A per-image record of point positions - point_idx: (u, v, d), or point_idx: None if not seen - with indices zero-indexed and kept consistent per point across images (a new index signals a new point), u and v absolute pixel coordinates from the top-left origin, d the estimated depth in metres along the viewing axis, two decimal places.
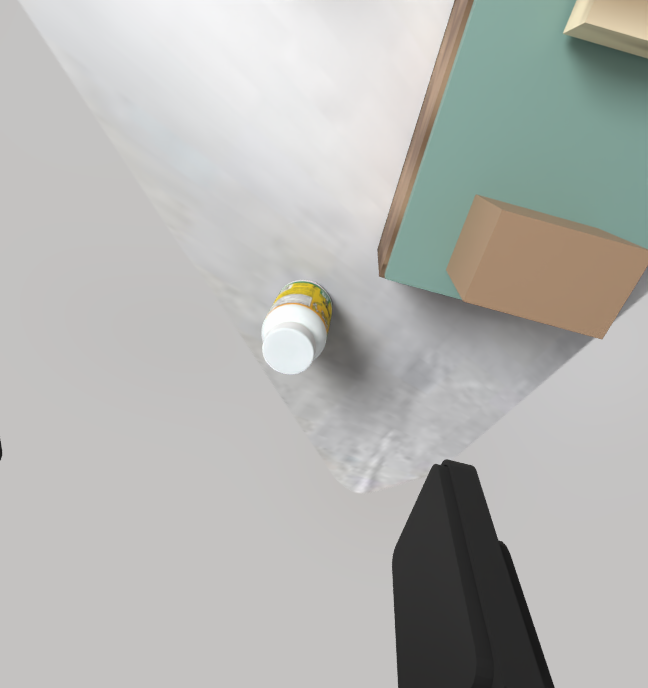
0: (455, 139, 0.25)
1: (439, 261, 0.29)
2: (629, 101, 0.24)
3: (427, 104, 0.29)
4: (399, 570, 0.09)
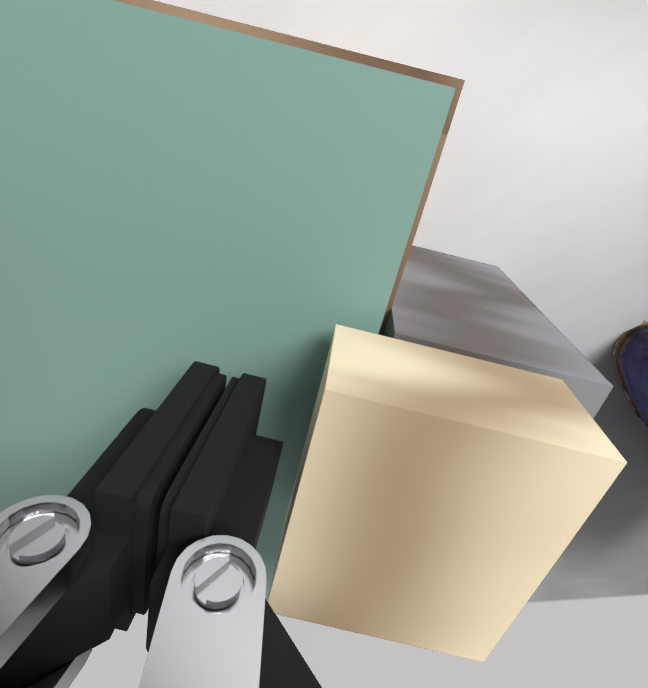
0: (10, 64, 0.08)
1: None
2: None
3: None
4: None
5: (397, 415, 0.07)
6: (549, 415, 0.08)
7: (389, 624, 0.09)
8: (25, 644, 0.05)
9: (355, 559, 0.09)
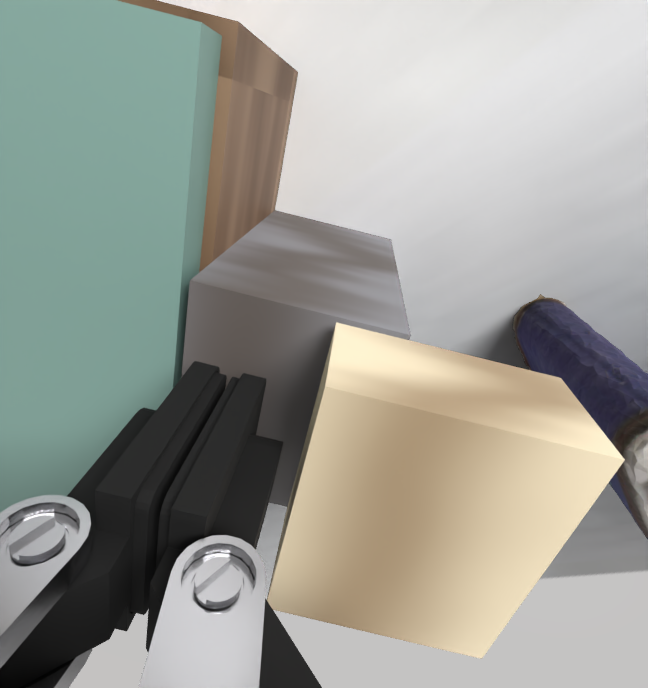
0: None
1: None
2: (24, 410, 0.12)
3: None
4: None
5: (398, 412, 0.07)
6: (548, 413, 0.08)
7: (388, 621, 0.09)
8: (25, 644, 0.05)
9: (354, 556, 0.09)
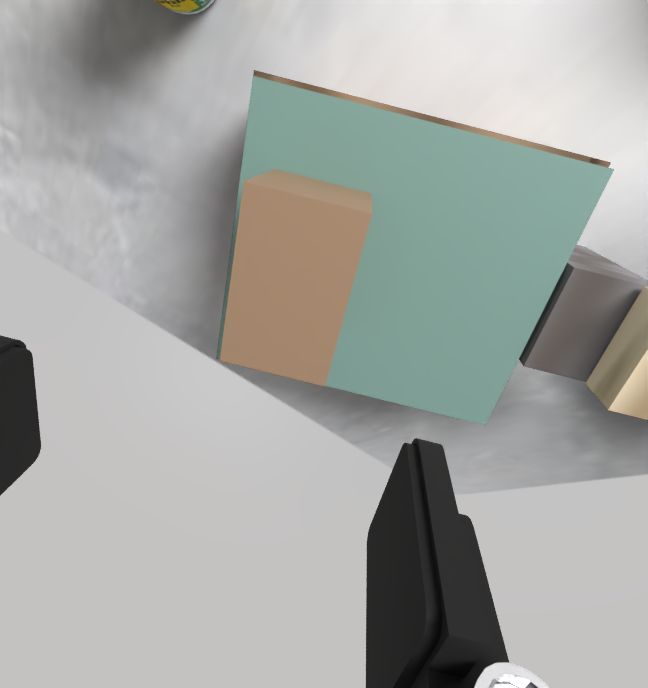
0: (436, 157, 0.21)
1: (285, 158, 0.21)
2: (455, 331, 0.25)
3: None
4: (372, 546, 0.09)
5: None
6: None
7: None
8: None
9: None
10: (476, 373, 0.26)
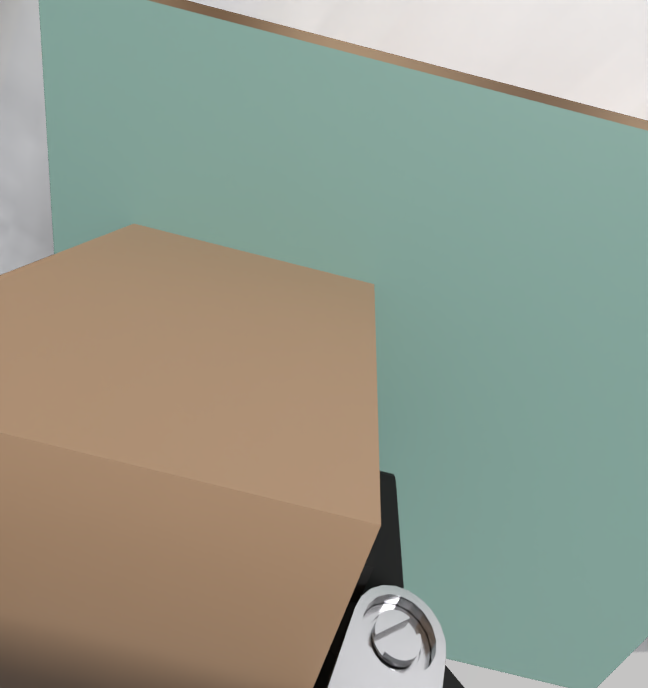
0: (547, 199, 0.08)
1: (155, 199, 0.08)
2: (550, 554, 0.12)
3: None
4: None
5: None
6: None
7: None
8: None
9: None
10: (585, 620, 0.13)
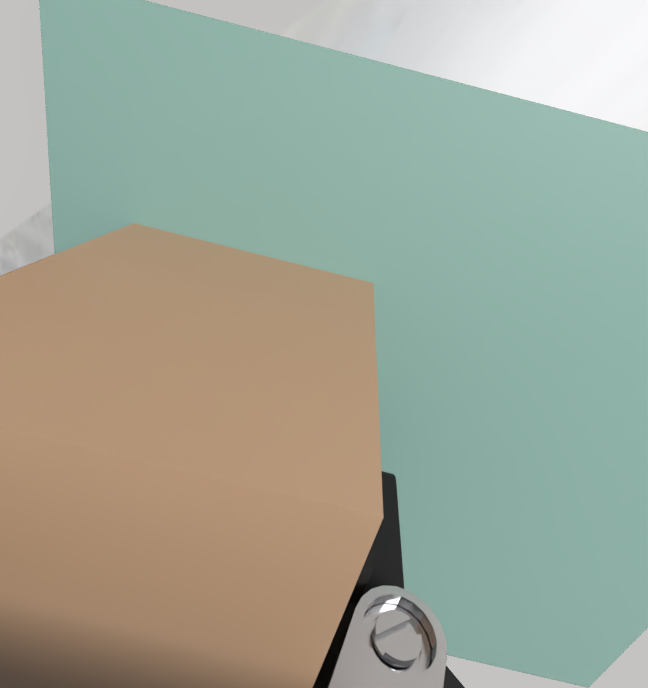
0: (544, 198, 0.08)
1: (156, 198, 0.08)
2: (548, 550, 0.12)
3: None
4: None
5: None
6: None
7: None
8: None
9: None
10: (582, 615, 0.13)
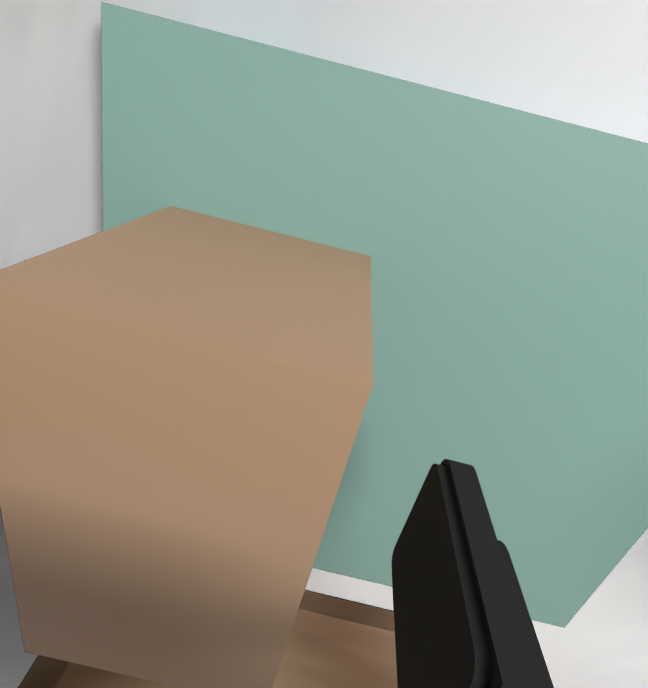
0: (511, 183, 0.10)
1: (190, 185, 0.10)
2: (524, 495, 0.13)
3: None
4: (398, 569, 0.09)
5: None
6: None
7: None
8: None
9: None
10: (556, 557, 0.14)
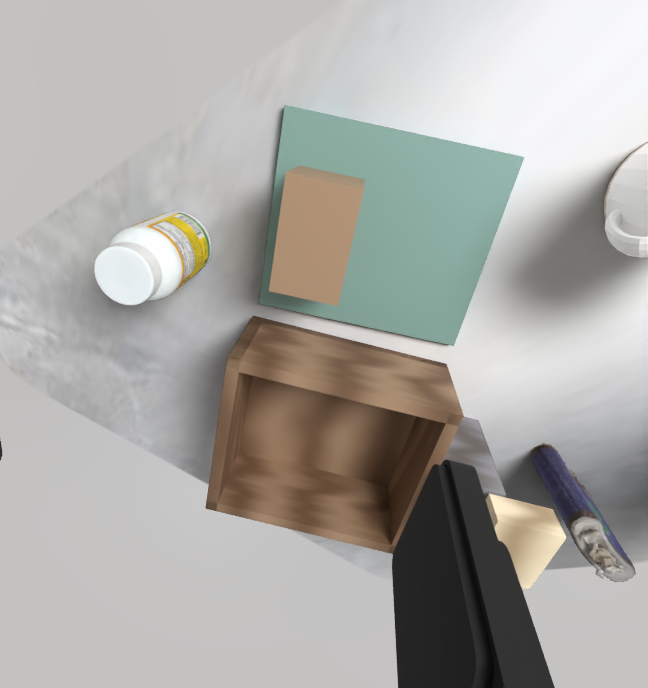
0: (406, 153, 0.31)
1: (306, 158, 0.32)
2: (427, 275, 0.35)
3: (375, 366, 0.36)
4: (399, 570, 0.09)
5: (514, 526, 0.30)
6: (548, 524, 0.31)
7: None
8: None
9: None
10: (444, 305, 0.36)
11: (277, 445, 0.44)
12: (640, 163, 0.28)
